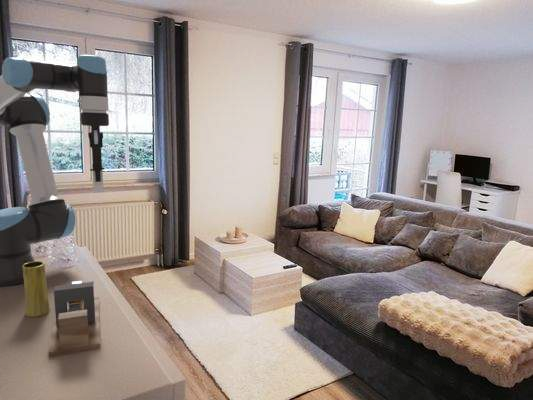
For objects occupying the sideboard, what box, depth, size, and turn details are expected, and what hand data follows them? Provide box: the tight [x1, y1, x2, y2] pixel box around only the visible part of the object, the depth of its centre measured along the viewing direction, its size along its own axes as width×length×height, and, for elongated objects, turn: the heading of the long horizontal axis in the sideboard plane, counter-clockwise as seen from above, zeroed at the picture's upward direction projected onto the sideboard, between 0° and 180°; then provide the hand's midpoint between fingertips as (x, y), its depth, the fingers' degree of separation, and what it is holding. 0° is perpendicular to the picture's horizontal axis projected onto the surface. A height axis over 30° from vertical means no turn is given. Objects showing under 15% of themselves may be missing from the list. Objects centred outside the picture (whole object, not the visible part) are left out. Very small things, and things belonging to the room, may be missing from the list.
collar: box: [53, 281, 95, 328], centre depth 102 cm, size 3×9×10 cm, turn 113°
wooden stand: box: [47, 296, 101, 358], centre depth 105 cm, size 27×11×9 cm, turn 23°
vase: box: [22, 260, 51, 318], centre depth 111 cm, size 6×6×14 cm
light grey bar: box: [68, 280, 83, 312], centre depth 105 cm, size 22×3×3 cm, turn 23°
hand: (98, 191), depth 120 cm, fingers closed
